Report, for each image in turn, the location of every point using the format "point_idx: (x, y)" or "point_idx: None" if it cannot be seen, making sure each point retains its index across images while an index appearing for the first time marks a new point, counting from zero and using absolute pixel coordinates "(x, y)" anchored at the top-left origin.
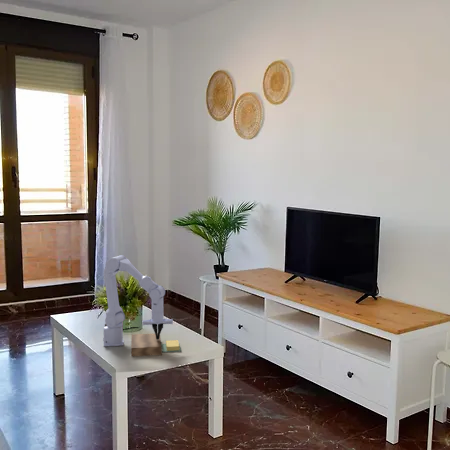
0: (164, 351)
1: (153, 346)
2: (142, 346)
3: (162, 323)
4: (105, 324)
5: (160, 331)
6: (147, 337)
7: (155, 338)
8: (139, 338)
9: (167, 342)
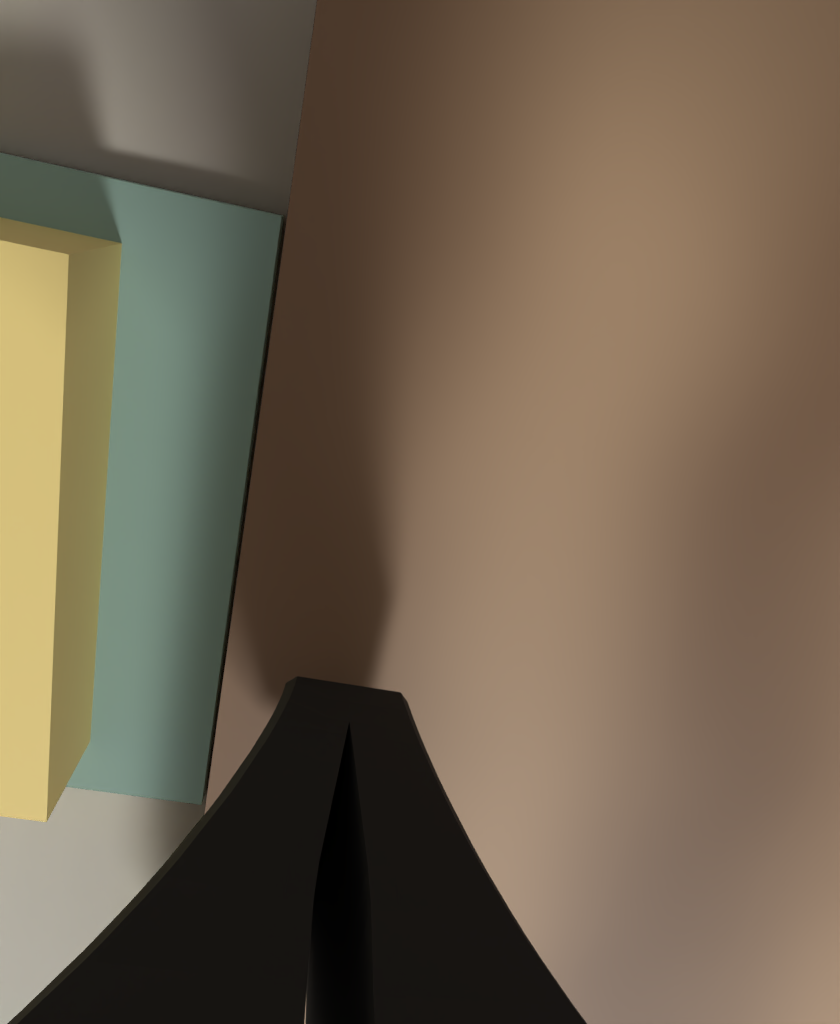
0: (207, 204)
1: (729, 20)
2: None
3: None
4: None
5: (115, 965)
6: None
7: None
8: (828, 1001)
9: (6, 671)
